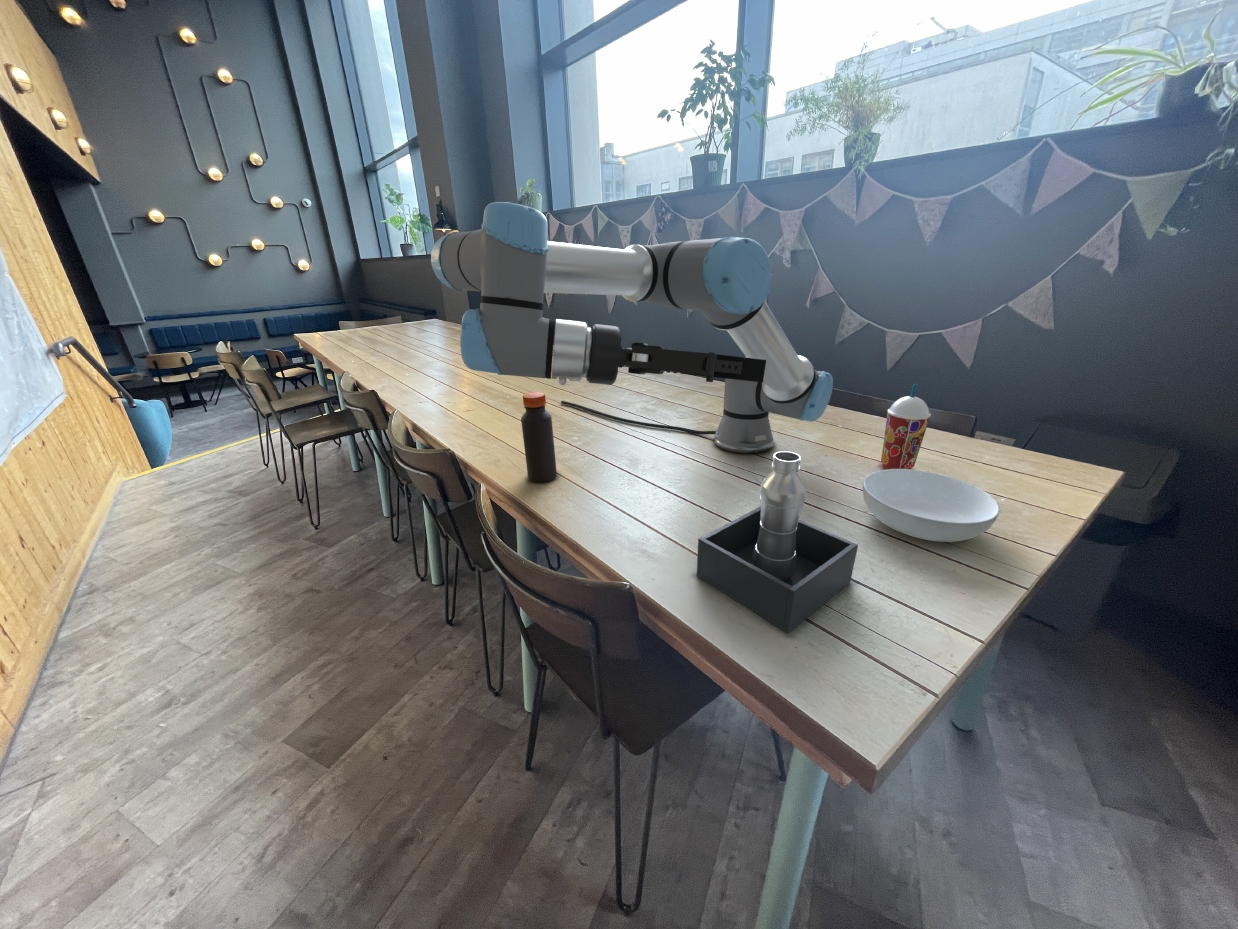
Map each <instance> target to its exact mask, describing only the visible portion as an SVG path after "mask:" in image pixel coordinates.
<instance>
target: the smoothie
mask: <svg viewBox="0 0 1238 929" xmlns="http://www.w3.org/2000/svg"><path fill="white" fill-rule="evenodd" d="M917 386H918V384H917V383H913V384H912V390H911V393H910V395H906V396H901V397H900V398H898V399H897V400H895V401H894V402H893V403H892V404H891V406H890V407H889V408H887V410H886V411H887V414H886V421H885V428H884V429H885V430H884V437H883V442H882V451H881V459H880V462H881V464H882V468H884V470H888V469H911V470H912V468H914V467H915V465H916V462H917V459H918V456H919V452H920V450H921V446H922V444H923V440H924V437H925V435H926V430H927V429H928V428H927V427H928V425H929V421H930V418H931V416H932V413H931V412H930V409H929V405H928V404H927V403H926V401H924V400H923V399H922V398H920V397H917V396H915V395H916V390H917Z"/></svg>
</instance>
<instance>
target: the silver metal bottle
mask: <svg viewBox="0 0 1238 929" xmlns="http://www.w3.org/2000/svg"><path fill="white" fill-rule="evenodd" d="M800 464H801V456H800V455H799V454H798V453H795V452H792V451H777V452H775V453H773V457H772V462H771V469H772V471H770V472H769V473H768V474H767V475H766V476H765V478H764V479H763V480H762V482H761V484H760V486H759V504H760V506H761V516H760V530H759V534H758V539H757V544H756V546H755V549H754V553H753V557H752V559H753V565H754V566H756V567H757V568H759V569H761V570H763V571H765V572H767V573H768V574H770V575H772V576H774V577H776V578H778V579H779V580H781V581H785V580H787V579H788V578H789V577H791V576H792V574H793V573H794V570H795V567H796V551H795V547H796V531H797V526H798V521H799V520H800V516H801V513H802V511H803V510H802V509H803V507H804V505H805V500H806V497H807V490H806V486H805V483H804V481H803V480H802V478H801V476H800V475H799V472H800V470H801V465H800Z"/></svg>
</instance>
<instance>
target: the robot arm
mask: <svg viewBox="0 0 1238 929" xmlns="http://www.w3.org/2000/svg"><path fill="white" fill-rule="evenodd" d="M548 224H549V223H548V219H547V217H546V216H545V214H543V213H542V212H541V211H540V210H538V209H536V208H533V207H531V206H527V205H523V204H519V203H514V202H505V201H503V202H502V201H493V202H490V203H489V204H487V205H486V206H485V208H484V211H483V218H482V223H481V229H476V230H468V231H462V232H460V231H452V232H451V233H447V234H446V235H444V236H441V237H440V238H439V239H438V240H436V242H435V243H434V245H433V246H432V249H431V253H430V263H431V268H432V270H433V273H434V275H435V276H436V278H437V279H438V280H439V281H440V282H441V283H442V284H443V285H444V286H446V287H447V288H449V289H453V290H456V291H459V292H480V304H479V308H478V307H477V308H475V309H473V308H471V309H469V308H468V309H466V311H465V312H464V313H463V315H462V319H461V323H460V324H461V328H460V329H461V331H460V339H459V342H460V343H459V345H460V355H461V359H462V362H463V364H464V365H465V366H466V367H467V368H468V369H470V370H472V371H475V372H476V371H477V372H484V373H489V374H497V376H513V377H524V378H525V377H526V378H534V379H535V378H538V379H547V380H550V379H552V380H557V379H558V384H559V385H561V386H565V385H566V384H567V380H569V381H570V382H582V380H583V379H584V378H586V381H587V382H588V383H589V384H596V385H604V386H605V385H606V386H607V385H608V386H612V385H614V383H616V380H617V377H618V374H619V368H620V369H621V368H628V369H627V373H628V374H634V375H646V374H652V375H663V374H664V373H665V372H666V373H668V374H669V373H673V374H678V373H679V374H680V375H688V376H698V377H706V379H705V382H706V383H714V378H718V379H724V393H723V396H724V397H723V410H722V417H721V419H720V421H719V424H718V426H717V429H716V430H698V429H697V430H696V429H691V428H686V427H683V426H675V425H666V424H658V423H652V422H646V421H645V422H643V421H638V420H633V419H628V418H625V417H624V418H623V417H619V416H615V415H611V414H608V413H605V412H602V411H598V410H596V409H592V408H590V407H587V406H584V405H581V404H577V403H573V402H569V401H566V400H561V401H560V404H562V405H567V406H571V407H574V408H578V409H581V410H584V411H587V412H590V413H592V414H595V415H599V416H601V417H605V418H607V419H612V420H615V421H618V422H619V421H620V422H624V423H627V424H633V425H637V426H644V427H649V428H650V427H651V428H657V429H664V430H673V431H680V432H685V433H691V434H696V435H714V444H715V445H716V446H717V447H718V448H720V449H721V450H724V451H728V452H731V453H738V454H760V453H764V452H767V451H769V450H771V449H772V447H773V446H774V436H773V433H772V427H771V423H770V420H769V416H770V415H769V414H774V415H778V416H782V417H788V418H791V419H795V420H799V421H801V422H803V421H805V422H816V421H817V420H819V419H820V418H821V417H822V415H823V414H824V413H825V411H826V409H827V408H828V405H829V404H830V400H831V398H832V394H833V389H834V377H833V375H832V374H831V373H830V372H826V371H825V370H822V371H821V370H816V368H815V367H814V365H813V363H812V362H811V361H810V360H809V359H808V358H807V357H805V356H803V355H800V354H799V355H798V353H797V352H796V350H795V348H794V346H793V345H792V344H791V342H790V340H789V338H788V337H787V335H786V333H785V331H784V330H783V328H782V326H781V325H780V323H779V321H778V320H777V318H776V316H775V315H774V313H773V312H772V310H771V308H770V307H769V304H768V303H767V300H768V296H769V294H770V291H771V285H772V276H773V275H772V274H771V273H770V270H772V264H771V261H770V257H769V255H768V253H767V251H766V250H765V248H764V247H763V245H761V243H759V242H758V241H756V240H754V239H752V238H749V237H738V236H725V237H720V238H707V239H694V240H679V241H672V242H666V243H658V244H644V245H643V244H631V245H628V246H626V247H625V248H624V249H622V248H613V247H603V246H594V245H588V244H587V245H586V244H577V243H567V242H559V241H558V242H557V241H551V240H550V241H549V240H548V228H549V227H548ZM545 294H570V295H573V294H574V295H597V296H598V295H600V296H601V295H602V296H603V295H605V296H621V297H623V299H625V300H626V301H628V302H640V303H646V304H652V305H657V306H662V307H667V308H670V309H671V308H673V309H679V310H690V311H692V310H693V311H699V312H701V313H702V314H703V316H704V317H705V319H706V320H707V321H708V322H709V323H710V325H711V326H713V327H714V328H715V329H716V330H719V331H726V332H727V333H728V334H729V336H730V337H731V338H732V340H733V341H734V343H735V344H736V345H737V347H738V348H739V350H740V351H741V352H742V353H743V355H744V357H743V356H737V355H736V356H735V355H727V354H717V353H715V352H698V351H689V350H688V351H687V350H675V349H667V348H666V347H665V346H660V345H650V344H648V343H645V342H636V341H635V342H631V343H630V347H622V345H621V342H622V333H621V330H620V328H619V327H618V326H617V325H609V324H599V323H594V324H592V325H591V326H590V327H589V326H588V324H587V323H586V322H585V321H579V320H570V319H562V318H561V319H560V318H546V317H543V314H544V312H543V310H544V296H545Z"/></svg>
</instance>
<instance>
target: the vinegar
mask: <svg viewBox="0 0 1238 929" xmlns="http://www.w3.org/2000/svg"><path fill="white" fill-rule="evenodd" d="M522 402H523V408H524V409H525V412H524V413H523V414H522V415H521V418H520V422H521V430H522V431H521V432H522V439H523V440H522V441H523V447H524V448H523V449H524V455H525V456H524V457H525V461H526V462H525V465H526V473H527V478H528V480H529V481H531V482H533V483H538V484H540V483H548V482H550V481H553V480H554V479H556V477H557V474H558V472H557V462H556V461H557V460H556V452H555V440H554V429H553V421H552V420H553V419H552V418H553V417H552V414H550V412H548V411H547V410H546V407H547V405H546V404H547V400H546V394H545V393H544V392H541V391H540V392H539V391H537V392H536V391H535V392H534V391H533V392H528V393H525V394H523V395H522Z"/></svg>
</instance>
